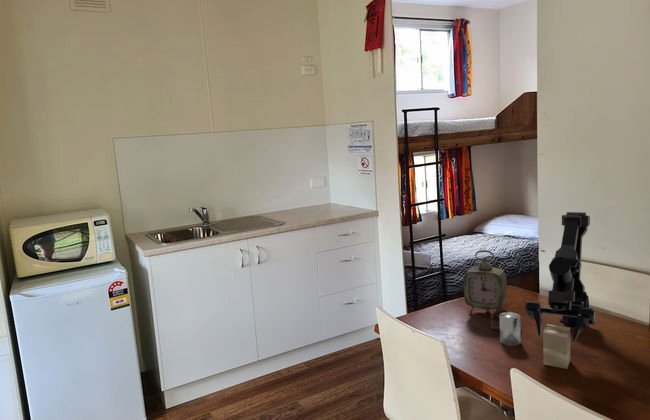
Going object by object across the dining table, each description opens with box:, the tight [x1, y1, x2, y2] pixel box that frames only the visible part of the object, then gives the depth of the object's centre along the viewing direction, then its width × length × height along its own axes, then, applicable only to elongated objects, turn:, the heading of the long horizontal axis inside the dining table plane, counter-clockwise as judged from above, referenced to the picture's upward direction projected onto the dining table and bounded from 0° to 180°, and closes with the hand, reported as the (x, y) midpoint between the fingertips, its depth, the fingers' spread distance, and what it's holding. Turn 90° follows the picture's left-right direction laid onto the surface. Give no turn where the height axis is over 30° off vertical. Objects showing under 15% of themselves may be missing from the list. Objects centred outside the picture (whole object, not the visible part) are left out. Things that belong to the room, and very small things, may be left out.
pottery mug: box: [490, 306, 522, 331], centre depth 174 cm, size 12×10×8 cm
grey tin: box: [499, 311, 522, 347], centre depth 163 cm, size 6×6×9 cm
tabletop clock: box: [462, 249, 508, 319], centre depth 187 cm, size 14×9×25 cm, turn 58°
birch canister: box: [542, 323, 571, 370], centre depth 146 cm, size 6×6×10 cm
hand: (556, 338), depth 145 cm, fingers open, 9 cm apart
